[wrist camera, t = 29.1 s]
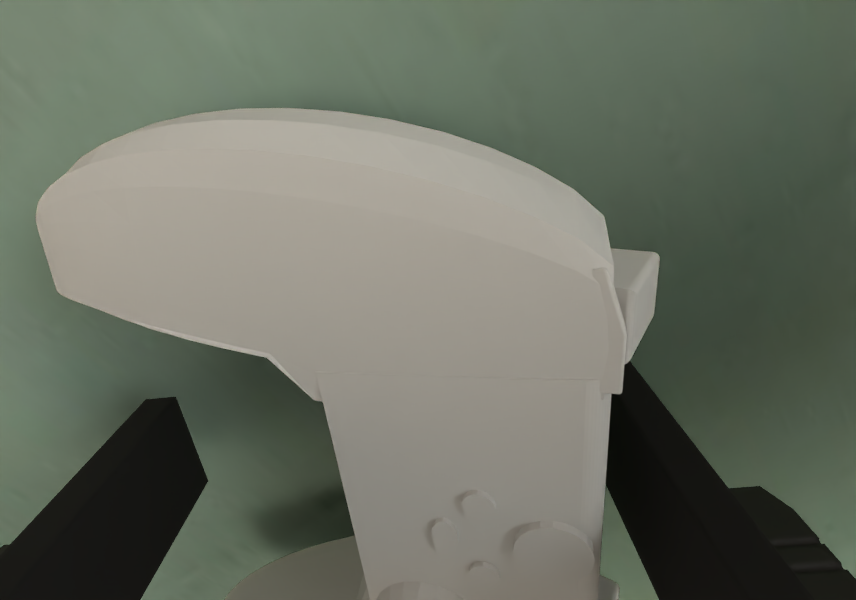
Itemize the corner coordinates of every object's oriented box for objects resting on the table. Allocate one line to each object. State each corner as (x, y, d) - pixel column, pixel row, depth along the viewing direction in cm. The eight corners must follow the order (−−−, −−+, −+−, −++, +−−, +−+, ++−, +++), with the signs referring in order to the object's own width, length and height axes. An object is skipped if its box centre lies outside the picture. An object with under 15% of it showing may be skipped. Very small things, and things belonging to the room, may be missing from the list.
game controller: (-93, 145, 6) (761, 35, 3) (162, 120, 10) (668, 58, 7) (213, 715, 12) (623, 882, 9) (303, 564, 16) (613, 643, 13)
